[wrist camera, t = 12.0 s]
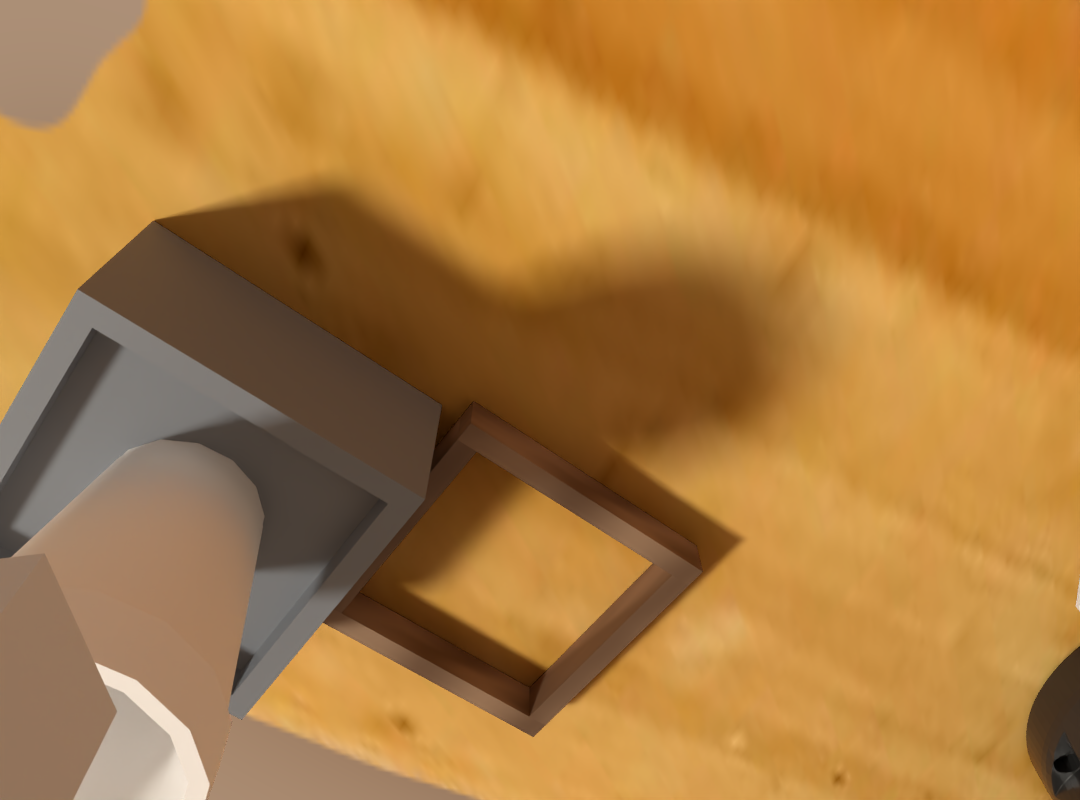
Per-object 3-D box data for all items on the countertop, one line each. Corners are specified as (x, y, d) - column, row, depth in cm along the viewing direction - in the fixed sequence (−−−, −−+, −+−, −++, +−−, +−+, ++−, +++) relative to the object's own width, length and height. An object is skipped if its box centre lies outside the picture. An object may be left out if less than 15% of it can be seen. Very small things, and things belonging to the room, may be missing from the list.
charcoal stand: (442, 405, 44) (425, 499, 37) (281, 605, 49) (241, 719, 43) (153, 220, 40) (77, 289, 34) (12, 459, 45) (-79, 560, 39)
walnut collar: (696, 545, 48) (703, 571, 46) (533, 707, 52) (533, 737, 51) (473, 401, 44) (470, 423, 42) (319, 589, 49) (311, 616, 47)
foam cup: (26, 536, 40) (-180, 804, 29) (112, 360, 36) (-84, 585, 25) (244, 635, 42) (135, 919, 31) (345, 479, 39) (264, 735, 27)
